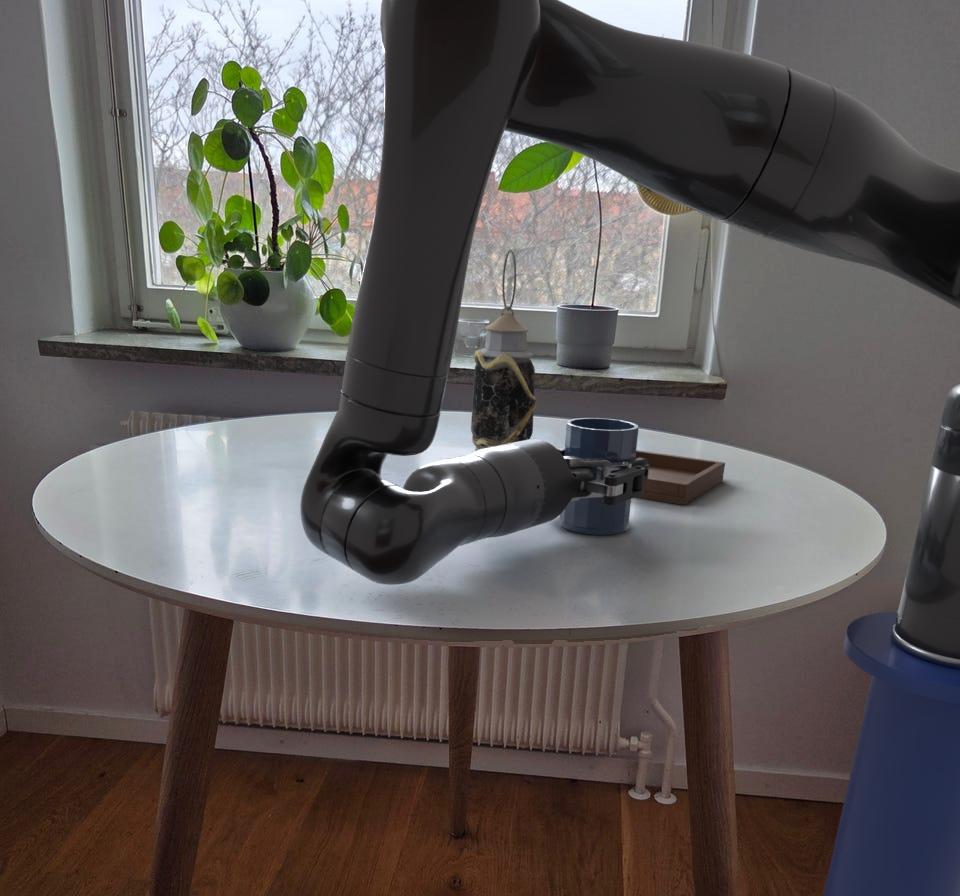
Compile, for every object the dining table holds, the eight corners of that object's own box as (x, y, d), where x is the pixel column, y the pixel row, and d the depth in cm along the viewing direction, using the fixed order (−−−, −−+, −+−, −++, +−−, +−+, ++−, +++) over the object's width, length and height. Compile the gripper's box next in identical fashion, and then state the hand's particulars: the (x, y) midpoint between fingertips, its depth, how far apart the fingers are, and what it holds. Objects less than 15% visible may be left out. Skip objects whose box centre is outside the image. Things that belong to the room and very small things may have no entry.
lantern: (464, 453, 123) (471, 248, 113) (524, 453, 125) (536, 250, 115) (476, 468, 115) (484, 248, 106) (540, 468, 117) (554, 251, 107)
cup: (637, 523, 94) (648, 423, 90) (611, 539, 89) (622, 433, 85) (576, 512, 97) (584, 415, 94) (547, 527, 92) (555, 424, 88)
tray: (722, 481, 114) (725, 462, 113) (684, 505, 102) (686, 484, 101) (590, 461, 122) (591, 443, 121) (539, 481, 110) (541, 462, 109)
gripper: (579, 459, 75) (680, 434, 87) (446, 432, 83) (554, 414, 95) (572, 548, 78) (670, 513, 90) (444, 514, 86) (549, 486, 98)
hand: (610, 462), depth 92 cm, fingers closed on cup, 7 cm apart
